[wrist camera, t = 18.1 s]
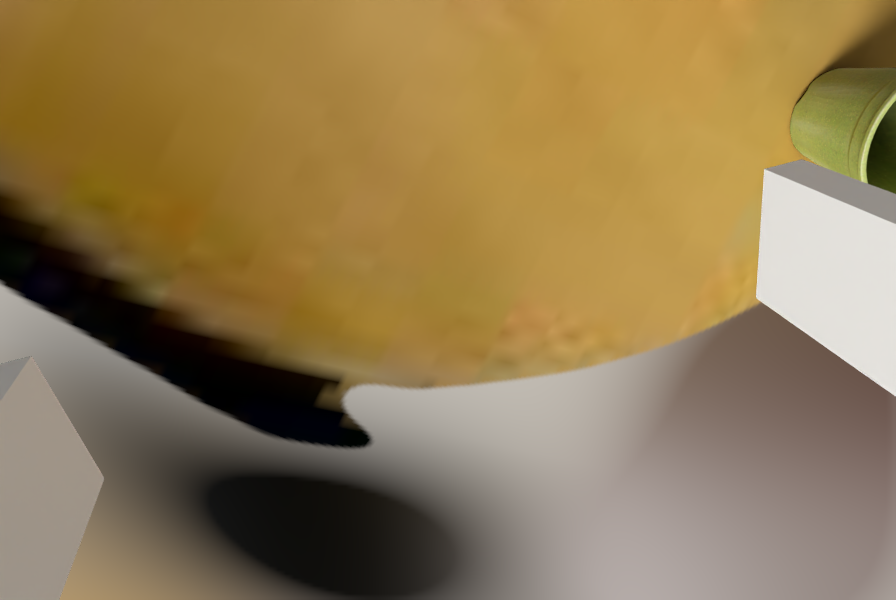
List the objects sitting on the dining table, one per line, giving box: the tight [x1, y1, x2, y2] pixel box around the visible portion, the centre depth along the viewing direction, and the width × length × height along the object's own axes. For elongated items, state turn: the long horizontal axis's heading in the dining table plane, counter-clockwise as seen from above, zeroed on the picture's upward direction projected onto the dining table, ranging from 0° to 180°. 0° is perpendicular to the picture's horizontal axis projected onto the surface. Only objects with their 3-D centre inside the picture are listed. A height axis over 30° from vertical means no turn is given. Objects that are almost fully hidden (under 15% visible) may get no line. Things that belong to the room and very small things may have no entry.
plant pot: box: [790, 68, 896, 194], centre depth 40 cm, size 9×9×9 cm
